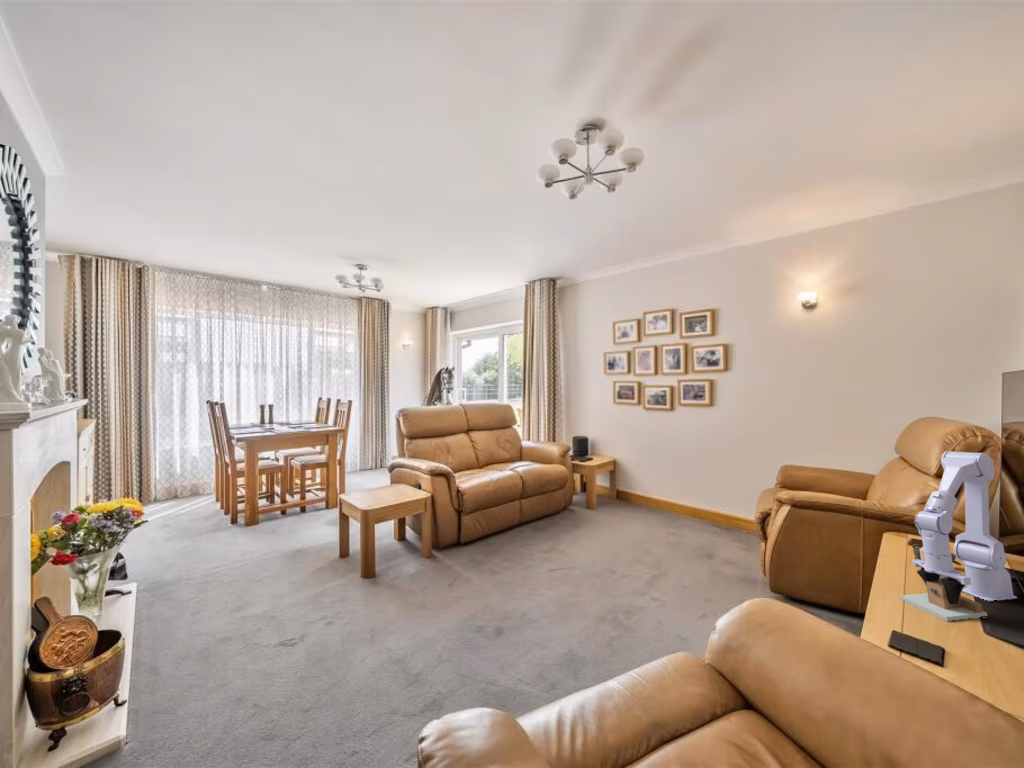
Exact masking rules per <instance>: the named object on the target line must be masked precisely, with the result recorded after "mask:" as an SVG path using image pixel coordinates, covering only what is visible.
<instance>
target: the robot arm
mask: <svg viewBox="0 0 1024 768" xmlns="http://www.w3.org/2000/svg"><path fill="white" fill-rule="evenodd" d="M940 458H941V459H940V460H941V462H940V463H941V467H942V469H943V474H942V477H941V479H940V483H939V486H938V490H933V491H931V493H930V495H929V498H928V499H927V501H926V503H925V505H924V508H923V510H921V511H918V512H916V513H915V516H914V525H915V527H916V528H917V530H918V534H919V535H920V536H921V540H922V547H923V548H924V555H925V561H923V560H920V559H915V558H914V559H911V560H912V562H911V563H912V566H913V567H916V568H918V567H919V568H920V569H918V570H916V572H917V574H918V575H919V577H921V579H922V580H923V583H924V584H925V585H926V582H928V581H937V580H941V582H942V584H943V586H944V588H945V590H946V594H947V599H948V602H949V604H958V601H959V597H960V594H961V595H962V592H963V593H965V594H968V595H970V596H973V597H976V598H978V597H979V598H978V599H981V600H983V599H984V600H983V601H986V600H987V601H986V602H995V601H994V600H997V601H1006V599H1007V600H1014V599H1018V597H1017V596H1016V595H1014V590H1013V583H1012V579H1011V578H1012V577H1011V574H1010V573H1009V571H1008V570H1007V569H1006V568H1005V566H1006V564H1007V554H1006V553H1005V549H1004V547H1005V546H1004V544H1003V542H1001V541H999V540H997V538H995V537H994V536H992V535H991V534H990V507H989V506H990V504H989V503H990V502H989V499H990V498H989V481H992V480H994V477H995V469H994V468H995V466H994V465H995V464H994V460H993V459H992V457H991V456H990V455H989V454H988V453H987V452H967V451H951V450H946V451H944V452H943V453H942V454H941V457H940ZM963 482H964V507H965V508H964V509H965V510H964V514H965V515H964V517H965V531H964V532H961V533H959V534H957V535H955V542H954V544H953V547H952V548H953V554H955V556H956V558H957V559H958V560H959V561H960V564H963V566H964V573H965V574H964V573H962V572H960V571H958V570H956V569H954V563H952V556H951V553H952V551H951V545H950V544H951V543H950V537H949V534H950V533H951V531H952V530H953V520H954V519H953V518H954V517H953V516H952V514H953V513H954V510H955V508H956V506H957V503H958V499H957V498H956V497H955V495H956V494H957V492H958V490H959V489H960V487H961V486H962V484H963ZM940 575H942V576H945V578H944V579H939V578H940ZM965 586H966V587H965Z"/></svg>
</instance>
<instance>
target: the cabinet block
mask: <svg viewBox="0 0 1024 768" xmlns="http://www.w3.org/2000/svg"><path fill="white" fill-rule="evenodd" d="M925 586H926V593H928V600H929V602H930V603H932V604H934V605H937V606H939V607H941V608H943V609H952V608H961V607H963V604H962V597H961V596H962V593H961V594H960V597H959V601H958V604H949V602H948V599H947V594H946V590H945V588H944V586H943V584H942V582H941V580H940V579H939V580H937V581H928V582H926V584H925Z"/></svg>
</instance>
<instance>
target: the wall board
mask: <svg viewBox="0 0 1024 768" xmlns="http://www.w3.org/2000/svg"><path fill="white" fill-rule="evenodd" d="M961 597H962V604H963V607H961V608H952V609H943V608H941V607H939V606H937V605H934V604H932V603H930V602H929V600H928V593H927V592H922V593H912V594H910V593H909V594H902V595H899V600H901V601H903V602H904V601H905V603H907V604H909V605H911V606H913V607H916V608H917V609H920V610H921V611H924V612H926V613H928V614H930V615H933V616H935V617H936V616H937V618H939V619H941V620H943V621H945V622H953V621H952V620H956V621H960V620H959V619H965V620H968V619H967V618H974V619H980V618H979V617H981V616H988V612H986V611H984V610H983V606H982V603H979V602H977V601H975V600H972V599H970V598H968V597H964V596H963V595H961Z"/></svg>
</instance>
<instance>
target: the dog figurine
mask: <svg viewBox="0 0 1024 768" xmlns="http://www.w3.org/2000/svg"><path fill="white" fill-rule="evenodd" d="M916 546H917V547H916ZM911 547H912V548H913V550H912V552H913V555H914V559H920V560H921V556H920V548H922V547H923V545H921V544H918V543H913V544H912V545H911ZM951 556H952V563H953V564H955V565H957V566H962V563H961V562H959V561H957V560H956V558H957V557H956V556H955V554H954V552H951Z"/></svg>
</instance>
